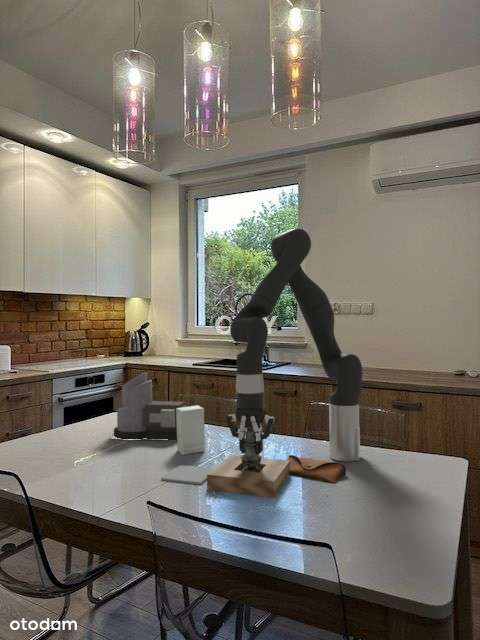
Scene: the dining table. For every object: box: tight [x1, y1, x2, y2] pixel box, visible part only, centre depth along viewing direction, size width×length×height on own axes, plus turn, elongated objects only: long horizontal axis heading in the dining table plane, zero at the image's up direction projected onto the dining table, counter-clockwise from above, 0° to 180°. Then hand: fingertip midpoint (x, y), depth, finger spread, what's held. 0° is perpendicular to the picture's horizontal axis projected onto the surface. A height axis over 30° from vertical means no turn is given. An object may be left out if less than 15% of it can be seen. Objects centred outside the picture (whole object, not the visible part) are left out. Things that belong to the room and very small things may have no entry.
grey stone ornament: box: [240, 427, 263, 473], centre depth 126 cm, size 6×6×12 cm
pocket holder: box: [206, 454, 291, 499], centre depth 126 cm, size 18×18×4 cm
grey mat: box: [160, 464, 215, 486], centre depth 131 cm, size 12×12×1 cm
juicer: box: [113, 372, 188, 440], centre depth 177 cm, size 30×16×24 cm, turn 81°
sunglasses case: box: [286, 454, 347, 484], centre depth 132 cm, size 18×7×7 cm
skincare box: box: [176, 404, 206, 456], centre depth 155 cm, size 8×6×15 cm
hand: (251, 452), depth 126 cm, fingers closed on grey stone ornament, 3 cm apart
